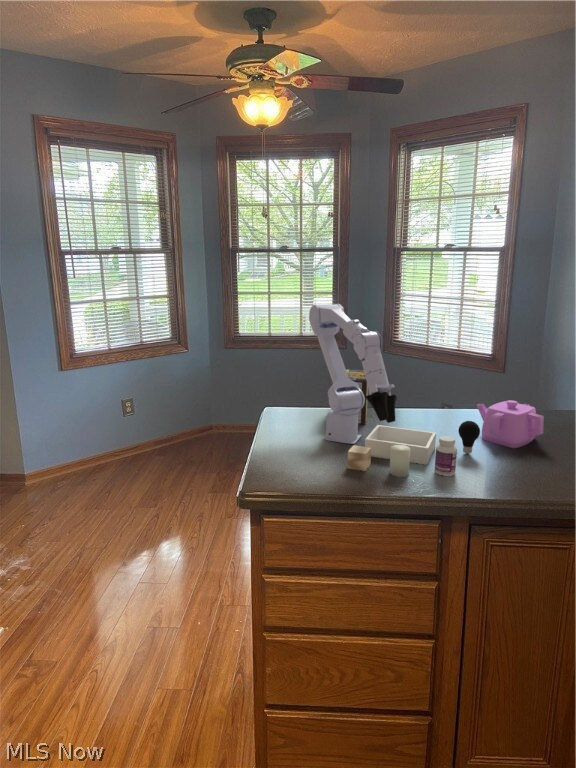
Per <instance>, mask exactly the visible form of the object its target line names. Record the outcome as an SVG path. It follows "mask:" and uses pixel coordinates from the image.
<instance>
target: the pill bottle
mask: <svg viewBox="0 0 576 768" xmlns="http://www.w3.org/2000/svg"><path fill="white" fill-rule="evenodd" d="M438 443H439V444H437V445H436V446H435V461H434V470H433V471H434V473H435V474H436V473H437V475H438V474H439V475H438V476H441V475H443V476H442V477H452V476H454V475H455V474H456V467H457V457H458V456H457V454H458V448H457V446H455V445H456V439H455V438H454V437H453V436H448V435H447V436H446V435H445V436H443V435H442V436H440V437H439V440H438Z"/></svg>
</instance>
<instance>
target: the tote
mask: <svg viewBox="0 0 576 768" xmlns="http://www.w3.org/2000/svg"><path fill="white" fill-rule="evenodd" d="M436 439H437V432H435V431H434V432H433V431H426V430H420V429H412V428H403V427H397V426H388V425H380V424H377V425H376V426H375V427H374V428H373V429H372V431H371V432H370V433H369V434H368V436H367V437H365V438H364V440H365V441H364V447H369V448H371V458H372V457H373V458H379V459H385V460H390V454H391V446H394V445H404V446H408V447H409V448H410V462H411V464H416V463H418V464H417V465H422V464H425V465H424V466H428V464H429V462H430V460H431V458H432V455H433V454H434V452H435V451H436ZM433 451H434V452H433Z"/></svg>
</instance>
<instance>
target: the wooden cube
mask: <svg viewBox="0 0 576 768" xmlns="http://www.w3.org/2000/svg"><path fill="white" fill-rule="evenodd" d="M371 461H372V457H371V448H369V447H365V446H361V445H356V444H352V446H351V447H350V448H349V450H348V451H347V469H348V470H349V469H350V470H356V471H360V470H361V472H366V471H367V470H368V469H367V468H370V467H371V463H372V462H371Z"/></svg>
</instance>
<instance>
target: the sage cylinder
mask: <svg viewBox="0 0 576 768" xmlns="http://www.w3.org/2000/svg"><path fill="white" fill-rule="evenodd" d="M389 474H390V475H391V474H392V475H391V476H393V475H394V476H393V477H396V476H397V478H405V476H406V477H408V476H409V474H410V448H409V447H408V446H404V445H394V446H391V454H390V459H389Z"/></svg>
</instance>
